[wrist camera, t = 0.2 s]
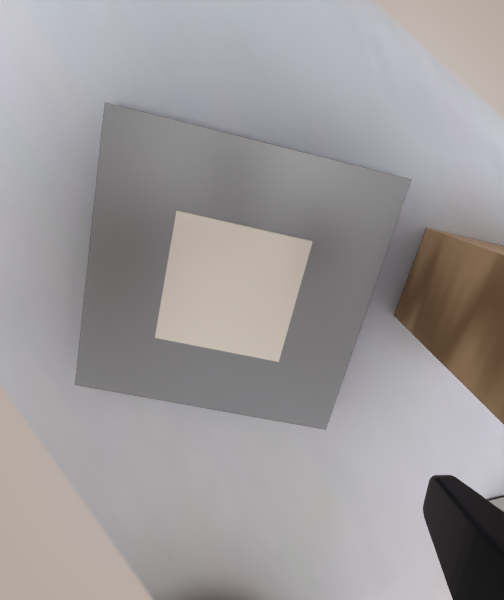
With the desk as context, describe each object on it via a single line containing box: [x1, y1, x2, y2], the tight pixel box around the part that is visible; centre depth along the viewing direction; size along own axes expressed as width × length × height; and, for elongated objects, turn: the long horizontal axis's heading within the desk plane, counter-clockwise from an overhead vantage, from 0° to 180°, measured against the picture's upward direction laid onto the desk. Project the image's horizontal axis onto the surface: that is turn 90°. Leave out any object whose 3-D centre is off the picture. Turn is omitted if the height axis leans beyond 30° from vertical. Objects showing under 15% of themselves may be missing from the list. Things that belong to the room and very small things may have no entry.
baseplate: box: [75, 103, 411, 430], centre depth 21 cm, size 14×14×2 cm
